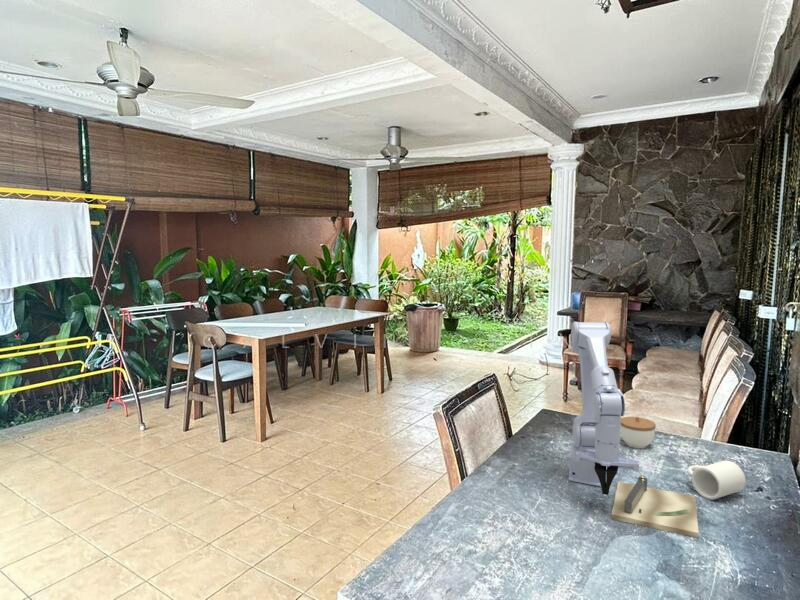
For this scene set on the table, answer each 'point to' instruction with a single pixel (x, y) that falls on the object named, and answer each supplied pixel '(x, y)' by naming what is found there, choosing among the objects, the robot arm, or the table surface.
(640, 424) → the lidded jar
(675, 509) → the board
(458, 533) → the table surface
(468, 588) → the table surface
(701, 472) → the mug
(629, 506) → the pointer
